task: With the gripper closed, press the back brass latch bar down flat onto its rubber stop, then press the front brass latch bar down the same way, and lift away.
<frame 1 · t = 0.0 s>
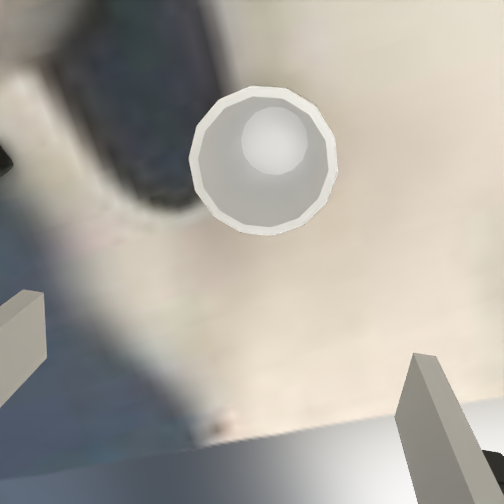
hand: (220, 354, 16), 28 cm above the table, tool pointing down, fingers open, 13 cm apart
foam cup: (274, 140, 41), on the table
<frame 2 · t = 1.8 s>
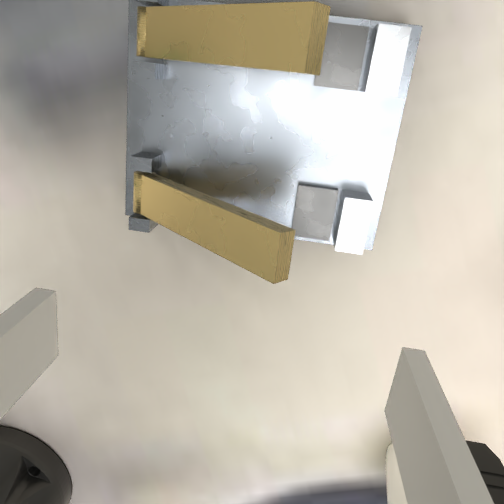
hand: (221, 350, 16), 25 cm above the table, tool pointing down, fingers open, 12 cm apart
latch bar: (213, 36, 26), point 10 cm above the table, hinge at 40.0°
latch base: (263, 125, 37), on the table
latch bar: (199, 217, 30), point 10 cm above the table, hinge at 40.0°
foam cup: (416, 454, 47), on the table
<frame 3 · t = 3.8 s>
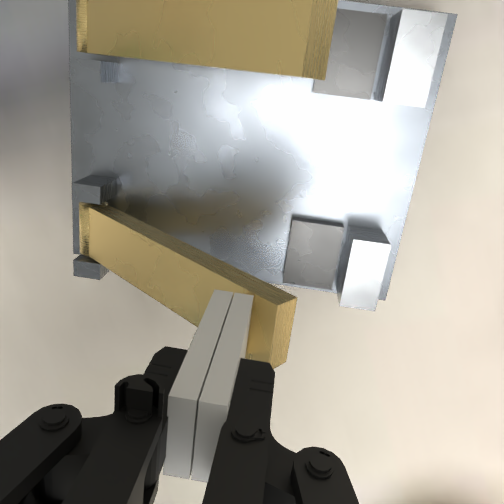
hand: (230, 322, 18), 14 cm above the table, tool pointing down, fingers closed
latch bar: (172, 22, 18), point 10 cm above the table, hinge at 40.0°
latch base: (248, 141, 30), on the table
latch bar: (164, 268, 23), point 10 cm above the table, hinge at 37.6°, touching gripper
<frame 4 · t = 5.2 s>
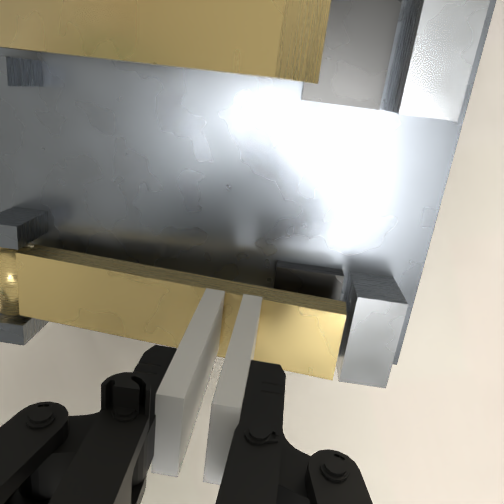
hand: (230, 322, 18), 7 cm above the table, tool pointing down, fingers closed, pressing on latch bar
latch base: (221, 160, 23), on the table
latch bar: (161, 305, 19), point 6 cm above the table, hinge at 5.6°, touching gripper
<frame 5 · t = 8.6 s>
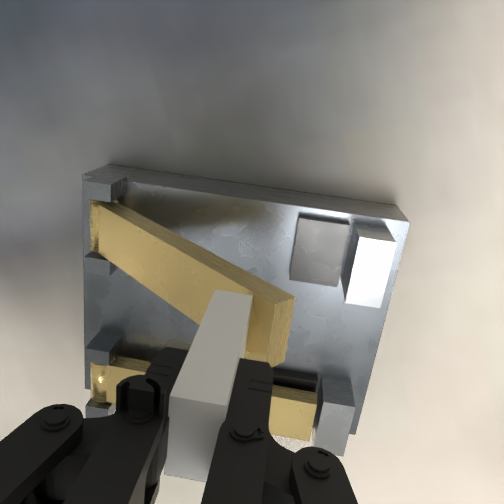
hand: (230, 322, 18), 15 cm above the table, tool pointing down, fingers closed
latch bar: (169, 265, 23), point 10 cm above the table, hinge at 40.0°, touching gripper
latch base: (237, 289, 34), on the table
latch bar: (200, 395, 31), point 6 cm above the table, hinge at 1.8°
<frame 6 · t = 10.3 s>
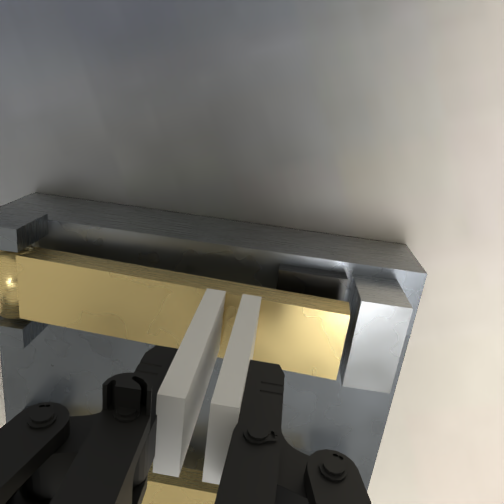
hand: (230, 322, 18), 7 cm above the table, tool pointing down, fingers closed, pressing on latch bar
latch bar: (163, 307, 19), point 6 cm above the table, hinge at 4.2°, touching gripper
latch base: (204, 347, 27), on the table
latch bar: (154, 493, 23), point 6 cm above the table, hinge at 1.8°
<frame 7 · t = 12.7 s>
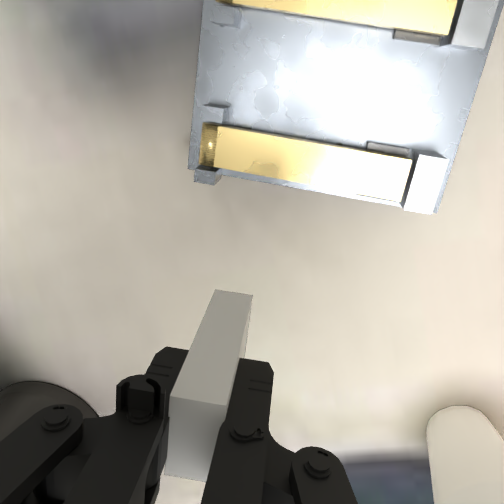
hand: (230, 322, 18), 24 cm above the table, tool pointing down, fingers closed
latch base: (330, 83, 37), on the table
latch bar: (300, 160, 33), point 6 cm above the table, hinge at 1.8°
foam cup: (457, 428, 47), on the table
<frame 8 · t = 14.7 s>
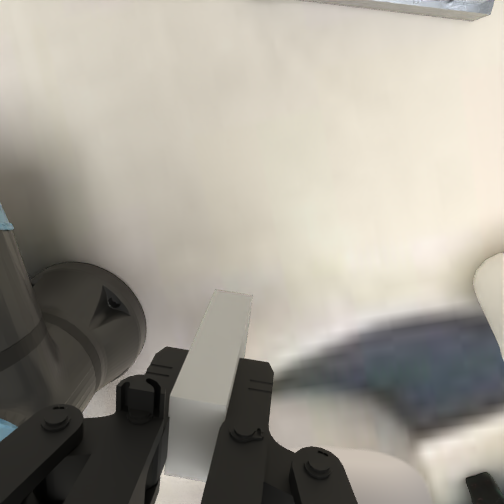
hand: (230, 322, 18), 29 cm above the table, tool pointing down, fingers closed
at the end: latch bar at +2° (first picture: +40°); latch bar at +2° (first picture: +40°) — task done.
